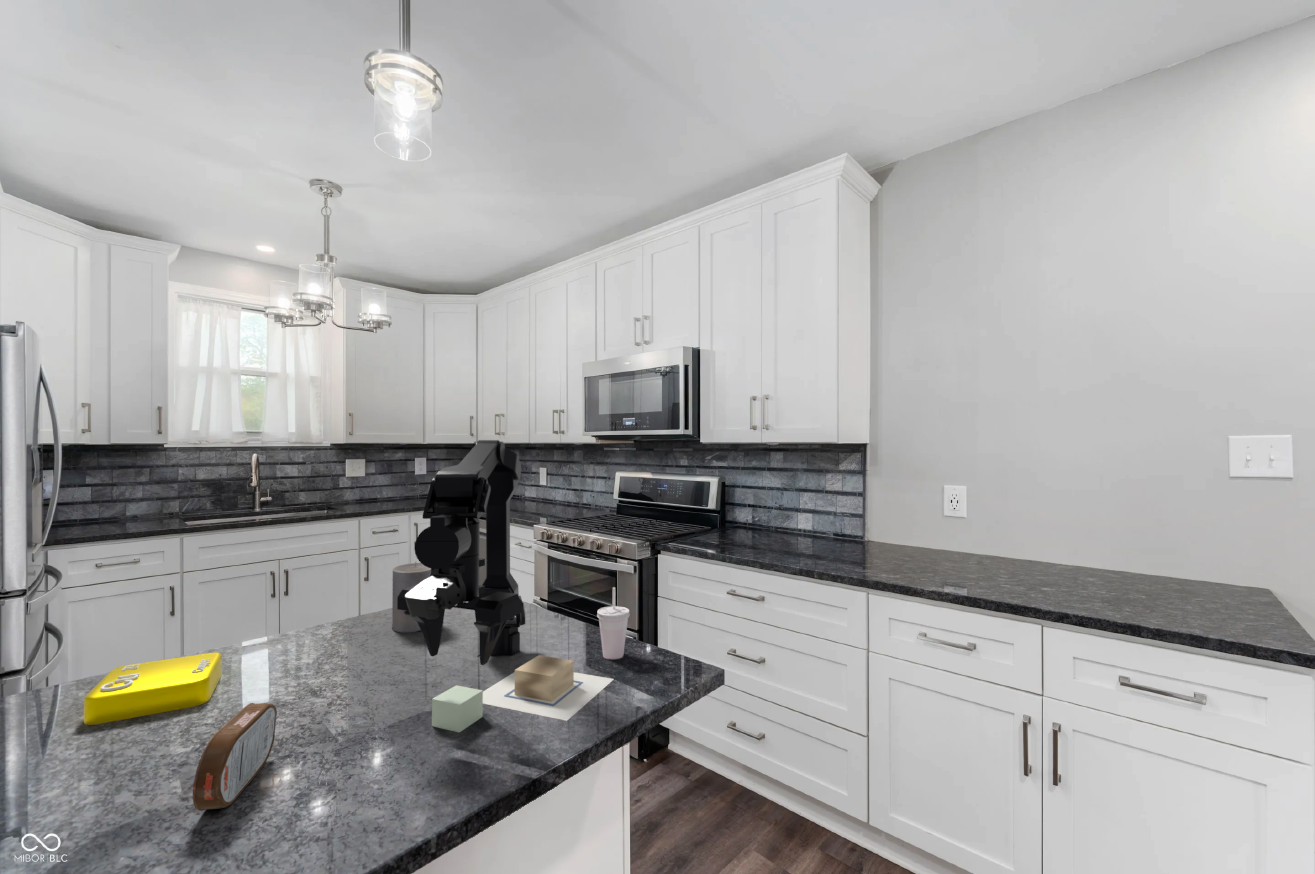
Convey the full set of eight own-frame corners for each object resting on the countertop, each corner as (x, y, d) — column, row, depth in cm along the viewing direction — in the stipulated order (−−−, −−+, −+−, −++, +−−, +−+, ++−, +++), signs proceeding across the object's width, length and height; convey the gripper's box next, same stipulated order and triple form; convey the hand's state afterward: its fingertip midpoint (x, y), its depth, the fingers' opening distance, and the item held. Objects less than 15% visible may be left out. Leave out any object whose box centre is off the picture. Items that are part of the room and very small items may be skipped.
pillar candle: (406, 618, 135) (406, 556, 135) (445, 619, 134) (445, 557, 134) (383, 632, 125) (382, 565, 125) (424, 633, 124) (424, 566, 124)
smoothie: (631, 654, 111) (632, 584, 112) (627, 667, 105) (627, 593, 105) (600, 653, 112) (600, 583, 112) (593, 666, 106) (593, 592, 106)
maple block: (514, 694, 91) (514, 669, 91) (538, 677, 98) (538, 655, 98) (551, 701, 89) (551, 676, 89) (573, 684, 95) (573, 660, 95)
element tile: (207, 706, 90) (208, 676, 90) (78, 730, 82) (79, 697, 82) (223, 673, 103) (223, 647, 103) (113, 691, 95) (113, 663, 95)
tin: (254, 754, 75) (255, 691, 75) (280, 751, 76) (282, 689, 76) (188, 828, 60) (189, 750, 61) (221, 824, 61) (223, 747, 61)
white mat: (468, 706, 89) (468, 699, 89) (526, 669, 104) (526, 663, 104) (566, 727, 82) (566, 719, 82) (614, 684, 97) (614, 678, 97)
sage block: (431, 733, 81) (432, 698, 81) (455, 717, 85) (456, 685, 86) (459, 740, 79) (459, 704, 79) (482, 723, 84) (482, 690, 84)
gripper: (366, 559, 79) (365, 670, 78) (474, 570, 72) (473, 692, 72) (425, 546, 89) (424, 644, 89) (524, 555, 82) (523, 661, 82)
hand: (458, 659), depth 83 cm, fingers open, 9 cm apart
